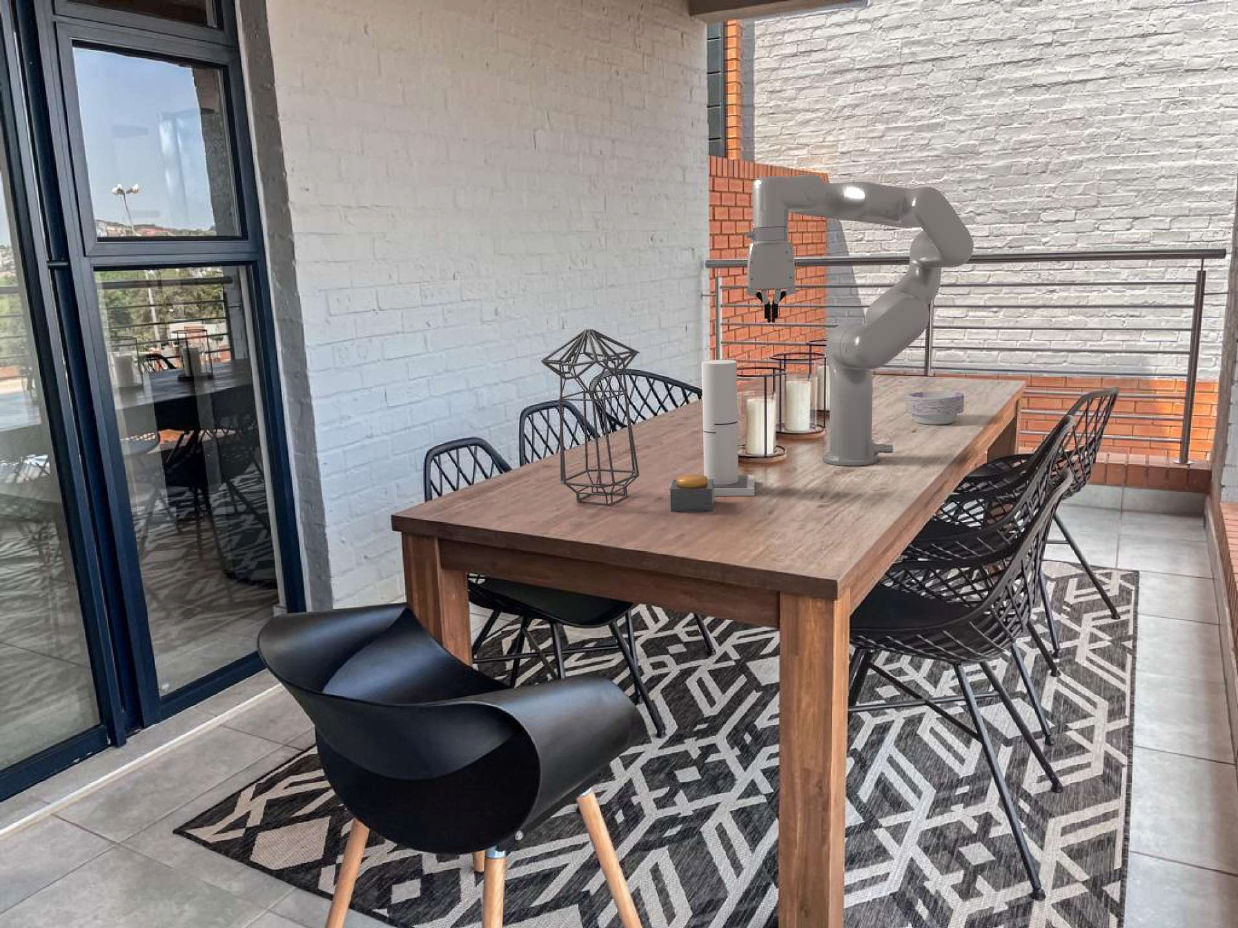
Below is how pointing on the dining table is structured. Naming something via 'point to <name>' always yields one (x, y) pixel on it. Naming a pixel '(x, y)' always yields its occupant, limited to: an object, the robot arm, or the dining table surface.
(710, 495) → the button housing
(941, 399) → the paper bowls
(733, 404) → the cylindrical container
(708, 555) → the dining table surface
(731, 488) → the pallet
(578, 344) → the geometric lantern
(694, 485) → the button
